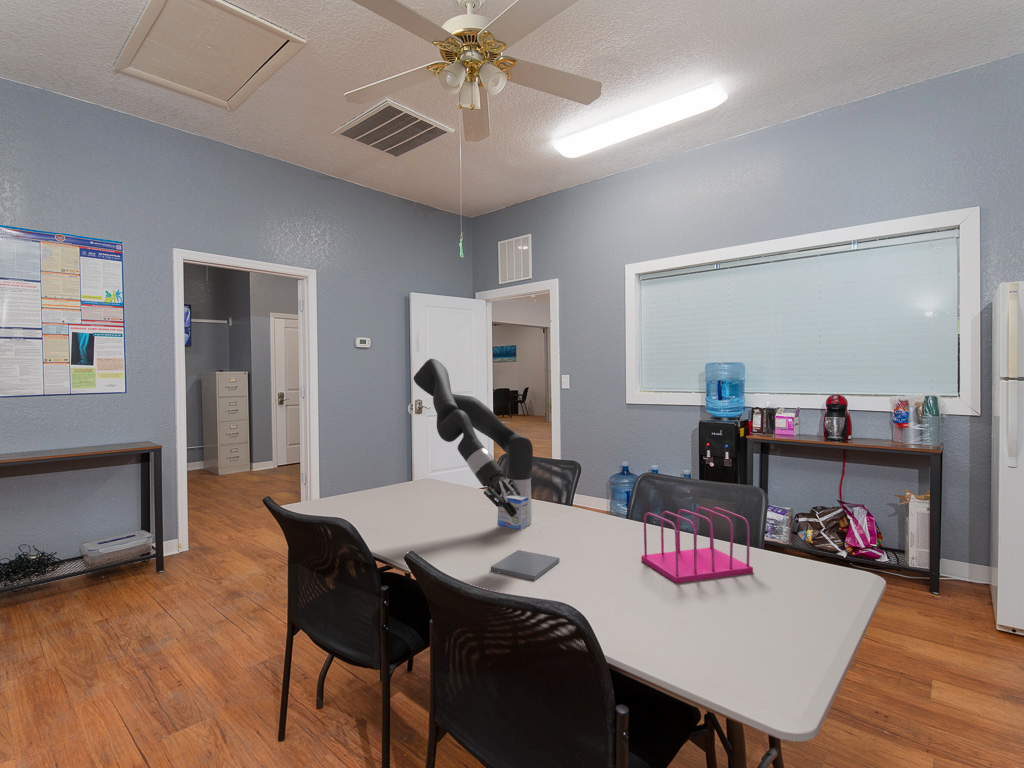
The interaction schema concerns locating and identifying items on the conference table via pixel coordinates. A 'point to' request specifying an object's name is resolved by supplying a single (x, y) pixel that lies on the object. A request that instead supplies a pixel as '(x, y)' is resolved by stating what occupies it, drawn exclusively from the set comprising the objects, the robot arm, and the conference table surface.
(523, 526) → the medicine box
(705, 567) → the file sorter
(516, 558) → the slate tile
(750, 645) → the conference table surface
